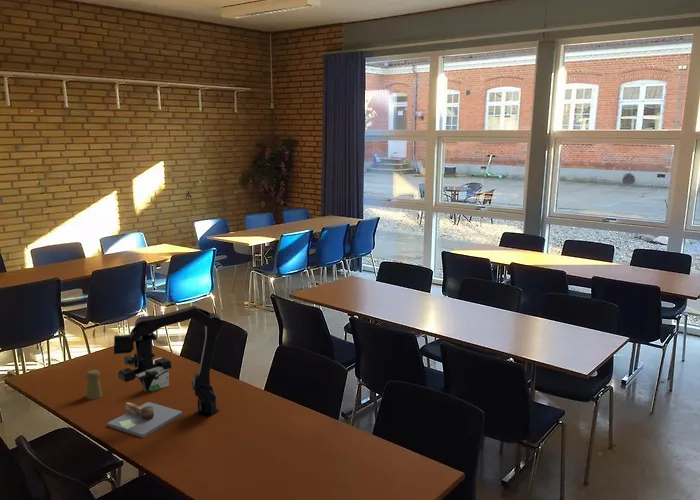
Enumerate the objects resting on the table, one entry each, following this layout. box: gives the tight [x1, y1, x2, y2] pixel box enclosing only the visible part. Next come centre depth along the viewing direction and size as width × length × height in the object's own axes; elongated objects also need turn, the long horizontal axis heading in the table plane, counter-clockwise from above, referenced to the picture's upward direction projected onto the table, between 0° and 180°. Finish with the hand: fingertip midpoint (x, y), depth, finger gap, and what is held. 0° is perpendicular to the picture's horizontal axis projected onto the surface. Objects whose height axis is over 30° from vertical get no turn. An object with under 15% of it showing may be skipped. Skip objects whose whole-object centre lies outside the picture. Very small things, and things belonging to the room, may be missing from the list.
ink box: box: [148, 357, 170, 392], centre depth 244 cm, size 9×5×12 cm, turn 143°
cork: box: [85, 369, 103, 400], centre depth 234 cm, size 6×6×11 cm
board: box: [107, 401, 184, 438], centre depth 216 cm, size 18×20×1 cm
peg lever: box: [125, 401, 154, 419], centre depth 217 cm, size 14×4×3 cm, turn 58°
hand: (146, 390), depth 213 cm, fingers closed
